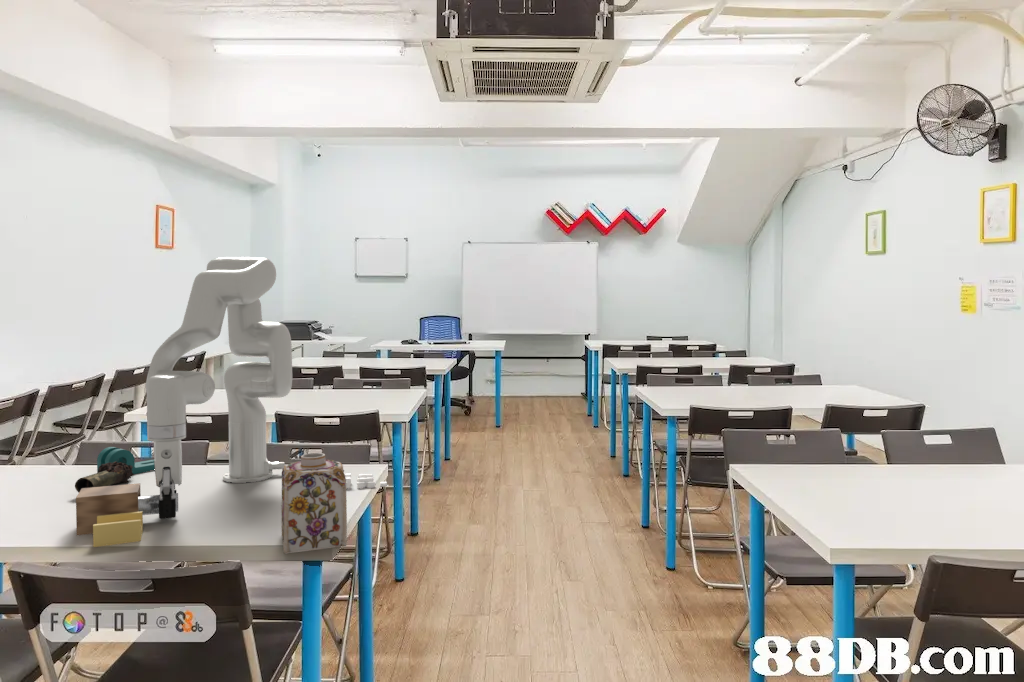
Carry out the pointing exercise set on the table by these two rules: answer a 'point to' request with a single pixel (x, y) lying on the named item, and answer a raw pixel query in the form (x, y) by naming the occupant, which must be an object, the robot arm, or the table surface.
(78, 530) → the walnut block
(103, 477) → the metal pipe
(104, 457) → the bracket
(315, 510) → the decorative jar
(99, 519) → the ochre V-block
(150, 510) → the steel axle
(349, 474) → the modular blocks
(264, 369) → the robot arm
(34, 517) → the table surface
